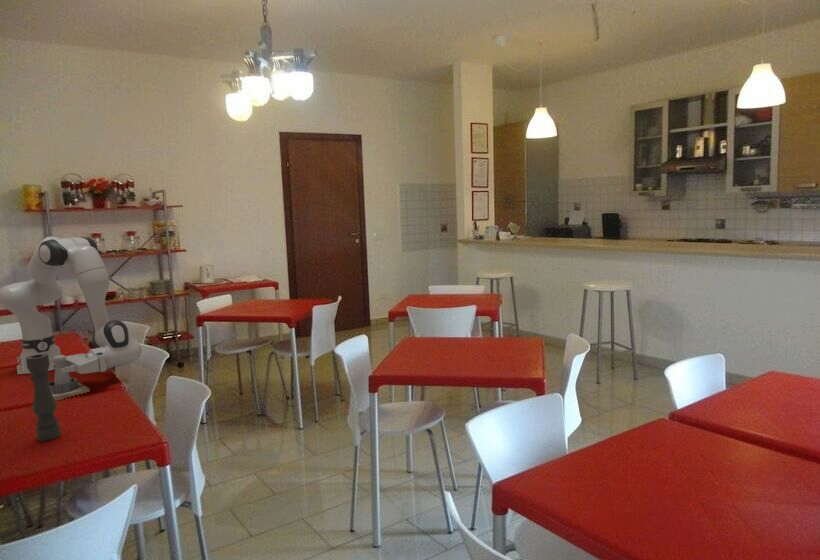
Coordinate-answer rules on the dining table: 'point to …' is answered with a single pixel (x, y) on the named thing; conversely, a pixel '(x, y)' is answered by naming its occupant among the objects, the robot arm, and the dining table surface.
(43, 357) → the candle holder
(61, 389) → the metal collar
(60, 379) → the salt shaker
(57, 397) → the birch stand
